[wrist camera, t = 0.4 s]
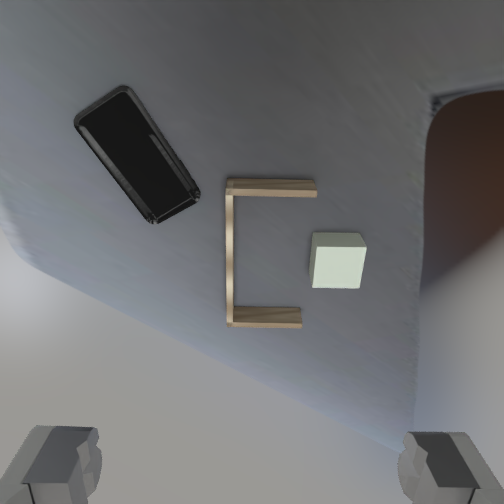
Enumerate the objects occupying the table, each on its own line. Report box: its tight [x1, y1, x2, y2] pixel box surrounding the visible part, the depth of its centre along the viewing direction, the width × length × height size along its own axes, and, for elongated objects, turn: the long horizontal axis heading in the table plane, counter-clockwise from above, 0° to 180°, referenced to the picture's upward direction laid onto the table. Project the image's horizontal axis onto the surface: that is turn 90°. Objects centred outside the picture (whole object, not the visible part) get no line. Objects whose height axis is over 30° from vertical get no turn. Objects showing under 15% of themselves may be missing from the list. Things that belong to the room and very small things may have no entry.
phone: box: [74, 86, 200, 224], centre depth 46 cm, size 8×1×15 cm
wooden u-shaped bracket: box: [226, 178, 317, 328], centre depth 51 cm, size 20×10×4 cm, turn 179°
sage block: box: [309, 232, 367, 288], centre depth 51 cm, size 6×6×4 cm
